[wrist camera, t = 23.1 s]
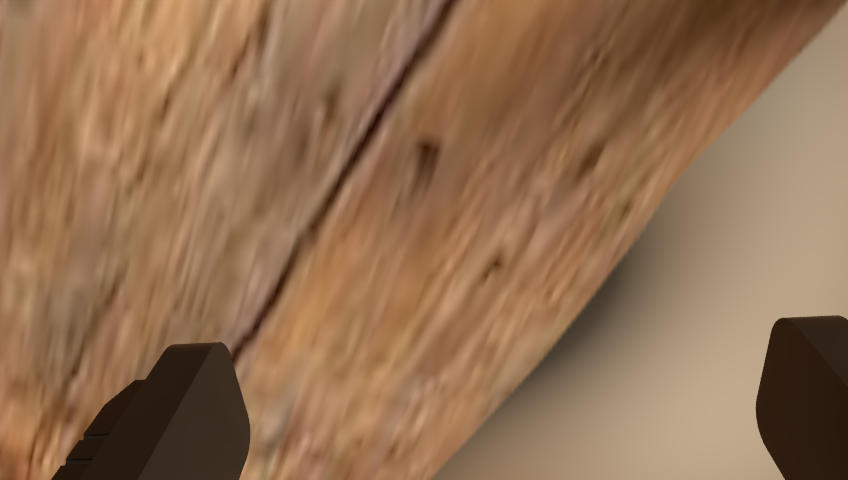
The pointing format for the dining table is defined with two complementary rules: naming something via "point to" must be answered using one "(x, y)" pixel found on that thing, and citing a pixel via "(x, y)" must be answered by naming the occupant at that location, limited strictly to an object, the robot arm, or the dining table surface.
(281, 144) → the dining table surface
